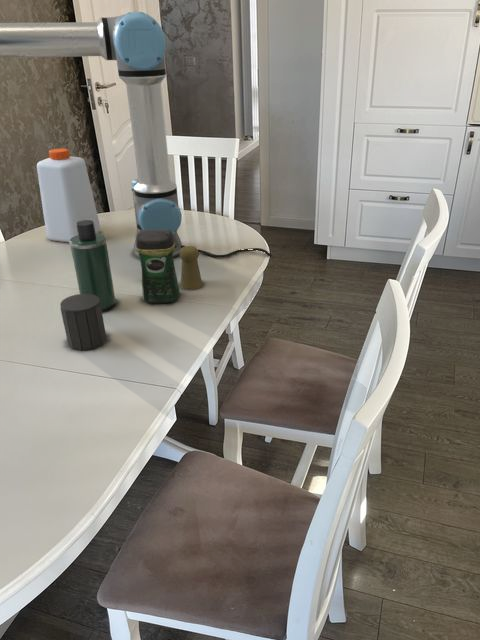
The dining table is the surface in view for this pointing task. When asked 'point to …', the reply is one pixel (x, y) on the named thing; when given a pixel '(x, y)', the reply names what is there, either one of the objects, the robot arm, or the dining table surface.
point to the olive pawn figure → (190, 268)
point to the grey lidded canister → (83, 321)
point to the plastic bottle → (65, 195)
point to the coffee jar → (157, 265)
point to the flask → (93, 264)
